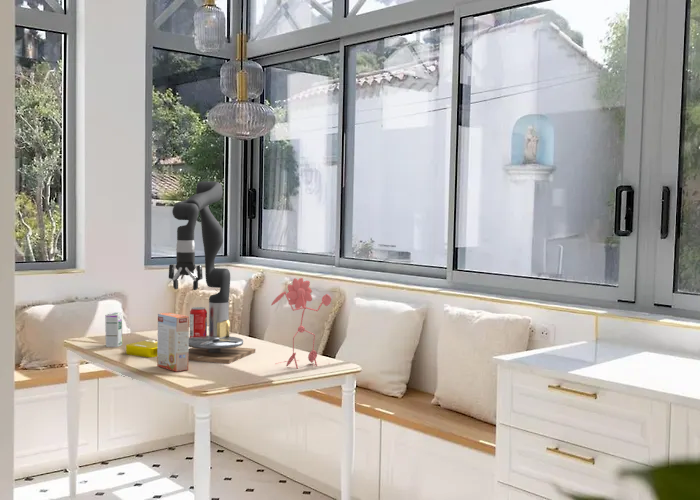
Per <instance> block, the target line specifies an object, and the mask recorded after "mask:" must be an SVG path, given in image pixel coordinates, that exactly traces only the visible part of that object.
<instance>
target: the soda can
mask: <svg viewBox="0 0 700 500" xmlns="http://www.w3.org/2000/svg"><path fill="white" fill-rule="evenodd" d="M207 331H208V311H207V309H206V307H203V306H195V307H194V306H192V307H191V309H190V311H189V339H190V338H191V337H202V336H208V335H207V334H208V332H207Z"/></svg>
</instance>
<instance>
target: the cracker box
mask: <svg viewBox="0 0 700 500" xmlns="http://www.w3.org/2000/svg"><path fill="white" fill-rule="evenodd" d="M189 339H190V315H189V316H187V315H184V314H178V313H173V312H161V313H157V341H158V350H157V357H156V359H157V364H156V365H157V367H159V368H163V369H167V370H170V371H172V372H176V373H177V372H184V371H188V370H189V360H188V353H189V352H188V351H189V349H190V348H189Z"/></svg>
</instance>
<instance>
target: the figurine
mask: <svg viewBox="0 0 700 500" xmlns="http://www.w3.org/2000/svg"><path fill="white" fill-rule="evenodd" d="M291 283H292V284H287V290H288V292H287V291H283V292H281V293H280V294H278V295H277V296H276V297H275V298H274V300H273V301H272V302H271V305H270V306H273V305H275V304H276V303H278V302H279V301H280V300H281V299H282V298H283V297H284V295H285V298H286V299H287V301H288V305H289V306H290V308H291V311H293V312H295V311H298V310H302V313H301V319H300V325H299V326H298V328H297V331H296V333H295V334H294V335H293V337H292V355H291V356H290V357H289V359H288V360H287V361H285V360H284V361H281V362H276V365H278V364H281V363H285V362H286V367H288V366H290V364H291V363H292V362H293V361H294V364H295V368H296V370H297V369H299V367H298V364H297V361H298V362H300V360H299V359H298V360H297V359H296V355H297V352H295V347H294V346H295V337H296V336H297V334H299V333H300V334H301V333H304V332H306V333H309V334H311V335H313V339H312V340H313V341H312V342H313V343H312V350H311V351H309V353H308V357H307V359H308V361H309V362H310V363H314V365H315V367H317V366H318V364H317V360H316V359H317V357H318V352H317V350H314V349H315V337H316V335H315V334H314V333H313V332H310V331H308V330H306V329H305V327H304V326H303V318H304V314H305V310H306V309H307V310H309V311H310V310H311V311H314V312H318V311H319V310H320V308H321V307H322V305H324V306H325V307H328V306H330V304H331V302H332V296H330V295H329V294H328V293H326V294H325V295H324V294H323V296H322V297H321V303H320V304H319V306H318V308H317V309H314V308H311V307H307V302H312V301H313V296H312V292H313V291H312V289H311V288H310V284H311V281H310V280H304V278H303V277H300V278H299V279H297V277H295V278H293V279H292V282H291ZM293 306H294V307H293ZM328 365H330V363H329V362H328Z"/></svg>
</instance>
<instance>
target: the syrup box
mask: <svg viewBox="0 0 700 500" xmlns="http://www.w3.org/2000/svg"><path fill="white" fill-rule="evenodd" d="M104 326H105V328H104V329H105V347H107V348H119V347H120V346H122V345H123V313H122V312H109V313H106V314H105V325H104Z"/></svg>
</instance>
